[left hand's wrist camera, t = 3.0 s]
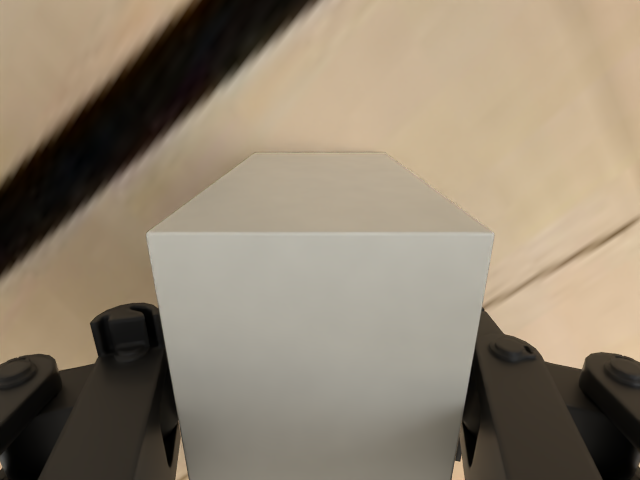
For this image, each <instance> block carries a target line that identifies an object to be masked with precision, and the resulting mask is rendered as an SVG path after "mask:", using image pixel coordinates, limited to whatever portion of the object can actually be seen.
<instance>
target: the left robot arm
mask: <svg viewBox="0 0 640 480" xmlns="http://www.w3.org/2000/svg"><path fill="white" fill-rule="evenodd" d="M90 325H91V329H92V333H93V337H94V341H95V345H96V349H97V353H98V358H97V360H96V362H95V363H94V364H90V365H86V366H81V367H76V368H71V369H66V370H61V371H58V367H57V364H56V361H55V359H54V358H52V357H51V356H50V355H44V354H34V355H25V356H21V357H19V358H14V359H11V360H8V361H7V362H5V363H3V364H0V462H1V465H2V467H3V468H2V469H1V470H0V480H175V477H176V469H177V461H178V453H179V445H180V437H181V436H180V428H179V423H178V414H177V409H176V403H175V397H174V392H173V386H172V380H171V375H170V369H169V363H168V358H167V352H166V346H165V341H164V335H163V329H162V324H161V318H160V312H159V308H156V307H155V306H154V305H151V304H147V303H130V304H125V305H120V306H117V307H114V308H112V309H109V310H106V311H105V312H103V313H101V314H100V315H98V316H96V317H95V318H94V319H93V320H92V321H91V323H90ZM461 454H462V460H463V468H464V476H465V480H640V467H639V463H640V362H638V361H635V360H634V359H632V358H629V357H626V356H622V355H619V354H612V353H603V352H600V353H593V354H590V355H589V356H588V357H586V359H585V362H584V365H583V368H582V369H577V368H572V367H567V366H562V365H557V364H552V363H549V362H545V361H544V360H543V358H542V356H541V355H540V353H539V352H538V351H537V350H536V348H534V347H533V346H531V345H530V344H528V343H527V342H525V341H523V340H521V339H518V338H516V337H513V336H509V335H505V334H503V332H502V331H501V330H500V329H499V327H498V326H497V325H496V324H495V322H494V321H493V320H492V319H491V317H490V316H489V315H488V314H487V312H484V309H483V307H482V309H481V315H480V321H479V326H478V332H477V337H476V343H475V349H474V354H473V360H472V366H471V371H470V377H469V383H468V388H467V394H466V400H465V405H464V411H463V417H462V423H461V428H460V434H459V440H458V445H457V451H456V458H455V461H459V462H460V460H461Z"/></svg>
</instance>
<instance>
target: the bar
mask: <svg viewBox="0 0 640 480" xmlns="http://www.w3.org/2000/svg"><path fill="white" fill-rule="evenodd" d="M494 236H495V235H494V232H493V231H491V230H490V229H489V228H487V227H486V226H485V225H483V224H482V223H480V222H479V221H478V220H476V219H475V218H474V217H472V216H471V215H470V214H468V213H467V212H466V211H464V210H463V209H461V208H460V207H459V206H457V205H456V204H455V203H453V202H452V201H451V200H449V199H448V198H447V197H445V196H444V195H442V194H441V193H440V192H438V191H437V190H436V189H434V188H433V187H432V186H430V185H429V184H427V183H426V182H425V181H423V180H422V179H421V178H419V177H418V176H417V175H415V174H414V173H413V172H411V171H410V170H408V169H407V168H406V167H404V166H403V165H402V164H400V163H399V162H398V161H396V160H395V159H394V158H392V157H391V156H389V155H388V154H387V153H385V152H255V153H253V154H252V155H251V156H249V157H248V158H247V159H245V160H244V161H243V162H241V163H240V164H239V165H237V166H236V167H235V168H233V169H232V170H230V171H229V172H228V173H226V174H225V175H224V176H222V177H221V178H220V179H218V180H217V181H216V182H214V183H213V184H211V185H210V186H209V187H207V188H206V189H205V190H203V191H202V192H201V193H199V194H198V195H197V196H195V197H194V198H193V199H191V200H190V201H188V202H187V203H186V204H184V205H183V206H182V207H180V208H179V209H178V210H176V211H175V212H174V213H172V214H171V215H169V216H168V217H167V218H165V219H164V220H163V221H161V222H160V223H159V224H157V225H156V226H155V227H153V228H152V229H151V230H149V231H148V232H147V233H146V239H147V244H148V250H149V256H150V261H151V267H152V273H153V278H154V284H155V290H156V295H157V301H158V307H159V312H160V318H161V324H162V329H163V335H164V341H165V346H166V352H167V358H168V363H169V369H170V375H171V380H172V386H173V392H174V397H175V403H176V409H177V414H178V420H179V426H180V431H181V437H182V443H183V448H184V454H185V460H186V465H187V471H188V477H189V480H451V479H452V473H453V467H454V462H455V456H456V450H457V445H458V439H459V434H460V428H461V422H462V417H463V411H464V405H465V400H466V394H467V388H468V383H469V377H470V371H471V366H472V360H473V354H474V349H475V343H476V337H477V332H478V326H479V321H480V315H481V309H482V304H483V298H484V292H485V287H486V281H487V275H488V270H489V264H490V258H491V253H492V247H493V241H494Z"/></svg>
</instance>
